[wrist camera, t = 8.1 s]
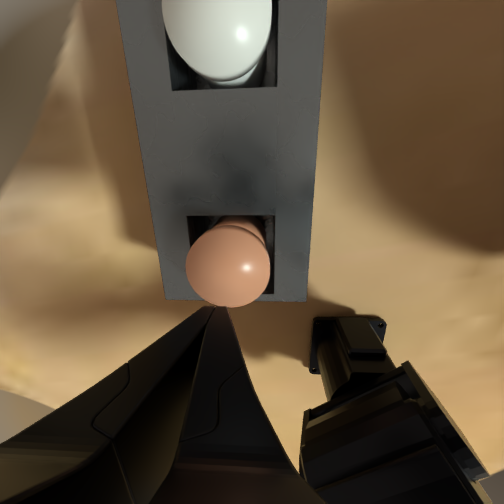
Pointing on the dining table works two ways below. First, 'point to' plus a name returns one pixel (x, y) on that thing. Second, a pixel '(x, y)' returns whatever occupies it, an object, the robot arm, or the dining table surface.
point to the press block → (229, 142)
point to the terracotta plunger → (230, 262)
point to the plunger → (221, 39)
